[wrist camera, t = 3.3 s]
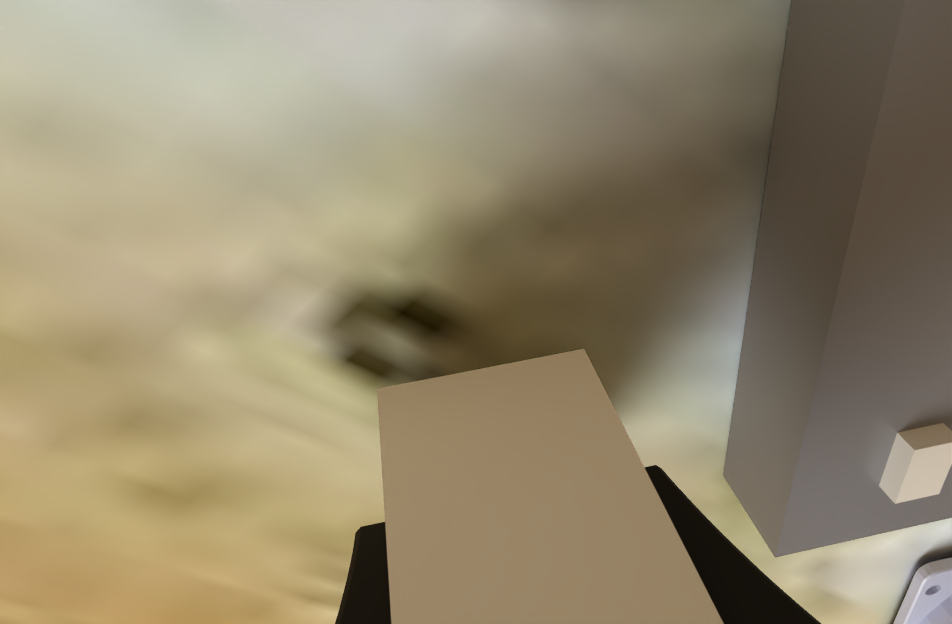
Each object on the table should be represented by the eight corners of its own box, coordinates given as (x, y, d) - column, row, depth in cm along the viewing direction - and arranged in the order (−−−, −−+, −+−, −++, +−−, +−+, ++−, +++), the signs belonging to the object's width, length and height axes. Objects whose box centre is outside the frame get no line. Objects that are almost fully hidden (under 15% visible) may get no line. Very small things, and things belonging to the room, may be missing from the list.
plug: (587, 488, 15) (741, 875, 9) (412, 525, 15) (456, 948, 9) (584, 348, 13) (784, 743, 7) (377, 388, 12) (404, 837, 7)
